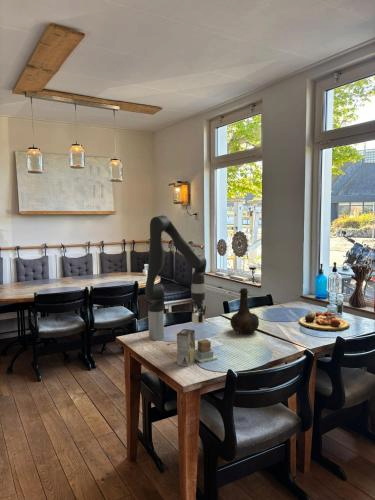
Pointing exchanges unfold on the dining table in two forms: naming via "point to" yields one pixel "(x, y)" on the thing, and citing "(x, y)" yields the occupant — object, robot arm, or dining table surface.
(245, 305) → the glass bottle
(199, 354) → the tower base
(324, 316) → the wooden plate with food
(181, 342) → the coffee box
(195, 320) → the cream brick
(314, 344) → the dining table surface
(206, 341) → the walnut brick
